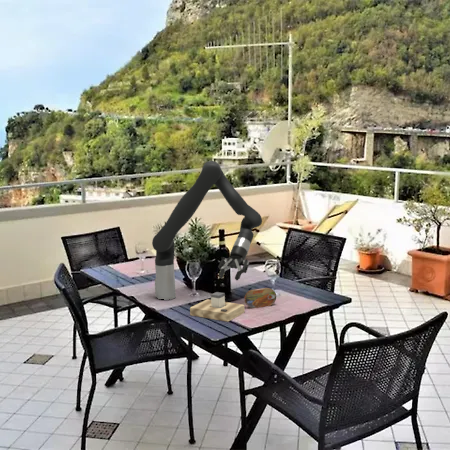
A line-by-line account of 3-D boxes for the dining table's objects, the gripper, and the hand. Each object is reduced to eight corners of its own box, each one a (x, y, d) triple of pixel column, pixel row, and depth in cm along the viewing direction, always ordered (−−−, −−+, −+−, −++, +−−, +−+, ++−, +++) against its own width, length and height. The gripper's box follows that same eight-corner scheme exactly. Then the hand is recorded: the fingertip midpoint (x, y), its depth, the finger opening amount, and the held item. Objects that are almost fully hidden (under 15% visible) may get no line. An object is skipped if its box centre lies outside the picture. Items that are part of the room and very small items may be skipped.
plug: (211, 313, 252) (210, 294, 251) (217, 311, 256) (216, 292, 254) (219, 315, 250) (219, 295, 248) (225, 312, 253) (224, 293, 252)
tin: (246, 309, 257) (245, 291, 255) (243, 307, 260) (243, 289, 258) (276, 305, 261) (276, 287, 260) (274, 303, 264) (273, 286, 262)
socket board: (190, 315, 251) (189, 306, 251) (207, 306, 263) (207, 298, 262) (228, 321, 241) (227, 312, 240) (244, 312, 252) (244, 303, 252)
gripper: (224, 243, 267) (212, 272, 259) (250, 245, 259) (238, 275, 251) (230, 252, 272) (218, 281, 264) (256, 254, 264) (244, 284, 257)
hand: (228, 278), depth 258 cm, fingers open, 8 cm apart
